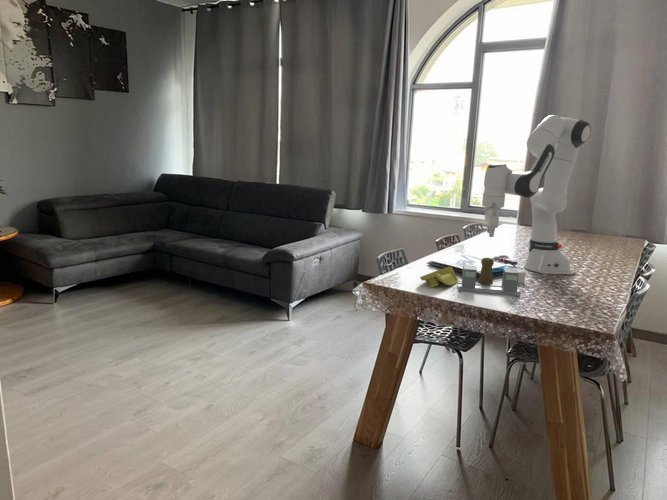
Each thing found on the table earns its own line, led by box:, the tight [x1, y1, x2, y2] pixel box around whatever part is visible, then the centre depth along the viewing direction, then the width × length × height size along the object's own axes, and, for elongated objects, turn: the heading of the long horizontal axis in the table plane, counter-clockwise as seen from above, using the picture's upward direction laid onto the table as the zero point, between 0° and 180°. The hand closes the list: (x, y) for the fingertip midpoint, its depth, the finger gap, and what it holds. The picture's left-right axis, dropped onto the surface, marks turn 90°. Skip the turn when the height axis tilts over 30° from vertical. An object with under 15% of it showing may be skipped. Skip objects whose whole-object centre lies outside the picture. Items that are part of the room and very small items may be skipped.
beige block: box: [516, 268, 526, 284], centre depth 216 cm, size 4×5×5 cm
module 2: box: [501, 267, 519, 293], centre depth 198 cm, size 5×7×8 cm
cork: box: [477, 257, 495, 285], centre depth 212 cm, size 6×6×11 cm
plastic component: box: [419, 266, 459, 288], centre depth 209 cm, size 20×7×10 cm
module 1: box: [461, 264, 478, 289], centre depth 201 cm, size 5×7×8 cm
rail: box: [457, 281, 521, 297], centre depth 201 cm, size 24×7×2 cm, turn 78°
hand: (490, 234), depth 209 cm, fingers open, 8 cm apart
